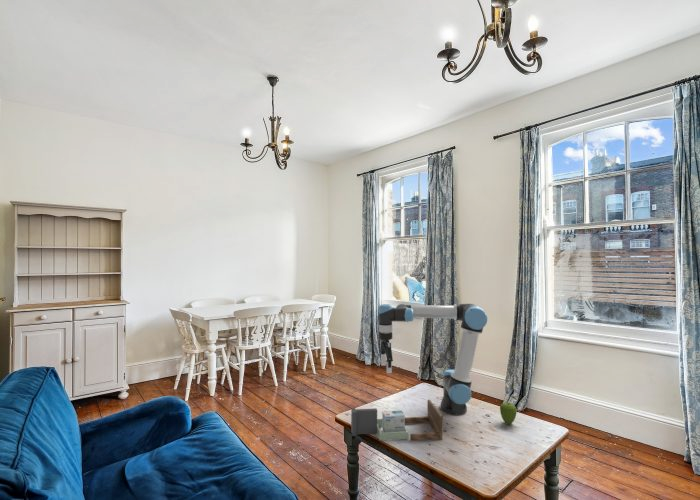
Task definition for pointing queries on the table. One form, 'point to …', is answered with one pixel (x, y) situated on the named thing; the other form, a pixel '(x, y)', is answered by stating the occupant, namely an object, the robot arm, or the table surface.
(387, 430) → the light bulb box
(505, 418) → the green rounded lump
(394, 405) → the table surface
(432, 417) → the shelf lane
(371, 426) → the pull cradle
